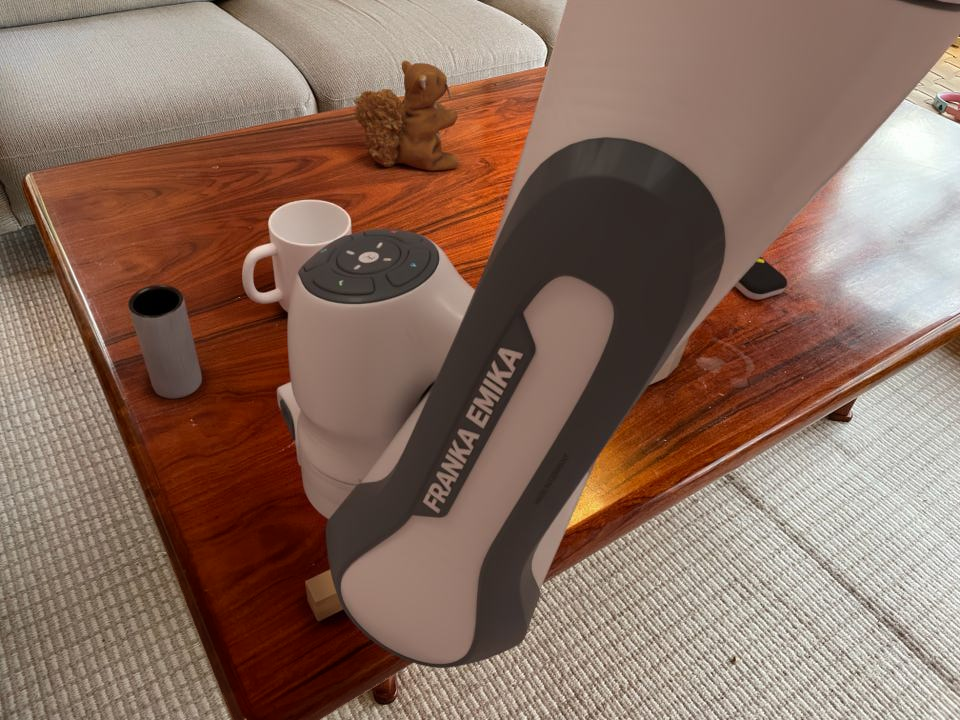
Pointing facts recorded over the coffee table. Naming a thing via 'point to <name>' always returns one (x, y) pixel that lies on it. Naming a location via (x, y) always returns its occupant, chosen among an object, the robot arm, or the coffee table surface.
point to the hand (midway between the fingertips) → (372, 569)
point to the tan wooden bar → (322, 596)
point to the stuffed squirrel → (409, 120)
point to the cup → (294, 244)
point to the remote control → (761, 281)
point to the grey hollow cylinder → (166, 340)
